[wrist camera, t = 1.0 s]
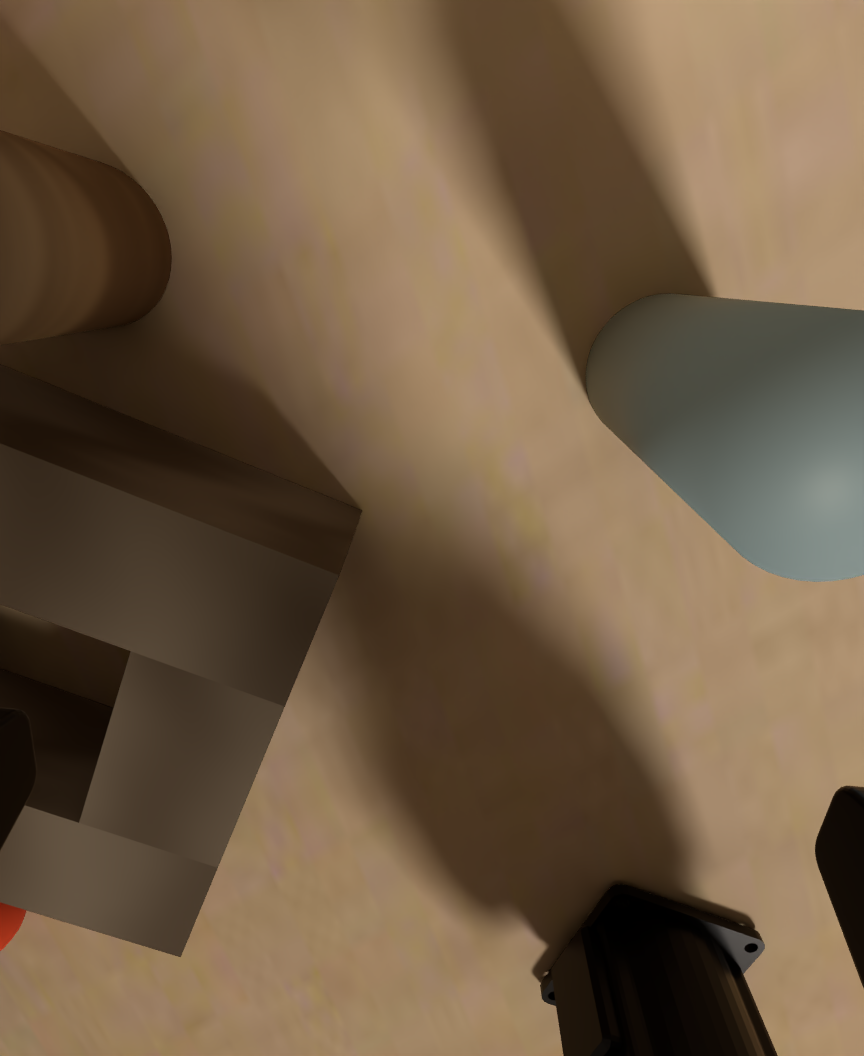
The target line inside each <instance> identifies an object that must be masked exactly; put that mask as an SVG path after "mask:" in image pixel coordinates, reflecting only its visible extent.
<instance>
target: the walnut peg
mask: <svg viewBox="0 0 864 1056" xmlns="http://www.w3.org/2000/svg"><path fill="white" fill-rule="evenodd" d="M171 259H172V258H171V245H170V240H169V235H168V232H167V229H166V225H165V223H164V221H163V218H162V216H161V214H160V212H159V211H158V209H157V207H156V205H155V204H154V202H153V201H152V200H151V198H150V197H149V195H148V194H147V193H146V192H145V191H144V190H143V189H142V188H141V186H139V185H138V184H137V183H136V182H135V181H134V180H133V179H131V178H130V177H129V176H127V175H126V174H124V173H123V172H121V171H119V170H117V169H115V168H114V167H112V166H109V165H106V164H104V163H101V162H98V161H95V160H91V159H88V158H85V157H82V156H79V155H76V154H73V153H69V152H66V151H63V150H60V149H57V148H54V147H51V146H48V145H44V144H41V143H38V142H35V141H32V140H29V139H26V138H23V137H19V136H16V135H13V134H10V133H7V132H4V131H1V130H0V345H5V344H11V343H17V342H24V341H30V340H36V339H42V338H48V337H55V336H61V335H67V334H73V333H79V332H86V331H92V330H98V329H104V328H110V327H117V326H122V325H126V324H129V323H132V322H134V321H136V320H138V319H140V318H142V317H143V316H145V315H146V314H147V313H148V312H150V311H151V310H152V309H153V308H154V307H155V305H156V304H157V303H158V301H159V300H160V299H161V297H162V295H163V293H164V291H165V289H166V286H167V283H168V281H169V276H170V271H171Z"/></svg>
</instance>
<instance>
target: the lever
mask: <svg viewBox="0 0 864 1056" xmlns="http://www.w3.org/2000/svg"><path fill="white" fill-rule="evenodd" d="M25 914H26V910H24V909H21V908H17V907H14V906H11V905H7V904H4V903H1V902H0V951H1V950H2V949H3V948H4V947H5V946H6V945H7V944H8V943H9V942H10V940H11V939H12V938H13V937H14V935H15V934H16V932H17V931H18V930H19V928H20V926H21V924H22V921H23V919H24V916H25Z"/></svg>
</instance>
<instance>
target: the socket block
mask: <svg viewBox="0 0 864 1056" xmlns="http://www.w3.org/2000/svg"><path fill="white" fill-rule="evenodd" d="M361 513H362V510H359V509H357V508H354V507H352V506H349V505H347V504H344V503H342V502H339V501H337V500H334V499H332V498H329V497H327V496H325V495H322V494H320V493H317V492H315V491H312V490H310V489H307V488H305V487H302V486H300V485H297V484H295V483H292V482H290V481H287V480H285V479H282V478H280V477H278V476H275V475H273V474H270V473H268V472H265V471H263V470H260V469H258V468H255V467H253V466H250V465H248V464H245V463H243V462H240V461H238V460H235V459H233V458H231V457H228V456H226V455H223V454H221V453H218V452H216V451H213V450H211V449H208V448H206V447H203V446H201V445H198V444H196V443H193V442H191V441H188V440H186V439H184V438H181V437H179V436H176V435H174V434H171V433H169V432H166V431H164V430H161V429H159V428H156V427H154V426H151V425H149V424H146V423H144V422H141V421H139V420H137V419H134V418H132V417H129V416H127V415H124V414H122V413H119V412H117V411H114V410H112V409H109V408H107V407H104V406H102V405H99V404H97V403H94V402H92V401H90V400H87V399H85V398H82V397H80V396H77V395H75V394H72V393H70V392H67V391H65V390H62V389H60V388H57V387H55V386H52V385H50V384H47V383H45V382H43V381H40V380H38V379H35V378H33V377H30V376H28V375H25V374H23V373H20V372H18V371H15V370H13V369H10V368H8V367H5V366H3V365H0V604H1V605H4V606H6V607H9V608H12V609H15V610H18V611H20V612H23V613H26V614H29V615H31V616H34V617H37V618H40V619H43V620H45V621H48V622H51V623H54V624H56V625H59V626H62V627H65V628H68V629H70V630H73V631H76V632H79V633H81V634H84V635H87V636H90V637H93V638H95V639H98V640H101V641H104V642H107V643H109V644H112V645H115V646H118V647H120V648H123V649H126V650H129V651H131V652H130V655H129V659H128V662H127V665H126V669H125V672H124V675H123V679H122V682H121V685H120V689H119V692H118V695H117V698H116V702H115V705H114V708H111V707H108V706H105V705H102V704H99V703H97V702H94V701H91V700H88V699H85V698H82V697H79V696H76V695H74V694H71V693H68V692H65V691H62V690H59V689H56V688H53V687H51V686H48V685H45V684H42V683H39V682H36V681H33V680H30V679H28V678H25V677H22V676H19V675H16V674H13V673H10V672H7V671H5V670H2V669H0V707H3V708H14V709H20V710H22V711H24V712H25V713H26V714H27V715H28V717H29V720H30V725H31V731H32V738H33V745H34V752H35V758H36V765H37V776H36V781H35V785H34V788H33V791H32V793H31V795H30V797H29V799H28V800H27V802H26V804H25V806H24V808H23V810H22V812H21V814H20V815H19V817H18V819H17V821H16V823H15V825H14V827H13V828H12V830H11V832H10V834H9V836H8V838H7V840H6V842H5V843H4V845H3V847H2V849H1V851H0V902H1V903H4V904H7V905H11V906H14V907H17V908H21V909H24V910H27V911H30V912H34V913H37V914H40V915H44V916H47V917H50V918H53V919H57V920H60V921H63V922H67V923H70V924H73V925H76V926H80V927H83V928H86V929H90V930H93V931H96V932H99V933H103V934H106V935H109V936H113V937H116V938H119V939H122V940H126V941H129V942H132V943H136V944H139V945H142V946H146V947H149V948H152V949H155V950H159V951H162V952H165V953H169V954H172V955H175V956H178V957H181V955H182V952H183V950H184V948H185V945H186V943H187V940H188V938H189V936H190V933H191V931H192V928H193V926H194V924H195V921H196V919H197V916H198V914H199V911H200V909H201V907H202V904H203V902H204V899H205V897H206V895H207V892H208V890H209V887H210V885H211V883H212V880H213V878H214V875H215V873H216V871H217V868H218V866H219V863H220V861H221V859H222V856H223V854H224V851H225V849H226V847H227V844H228V842H229V839H230V837H231V834H232V832H233V830H234V827H235V825H236V822H237V820H238V818H239V815H240V813H241V810H242V808H243V806H244V803H245V801H246V798H247V796H248V794H249V791H250V789H251V786H252V784H253V782H254V779H255V777H256V774H257V772H258V769H259V767H260V765H261V762H262V760H263V757H264V755H265V753H266V750H267V748H268V745H269V743H270V741H271V738H272V736H273V733H274V731H275V729H276V726H277V724H278V721H279V719H280V717H281V714H282V712H283V709H284V707H285V705H286V702H287V700H288V697H289V695H290V692H291V690H292V688H293V685H294V683H295V680H296V678H297V676H298V673H299V671H300V668H301V666H302V664H303V661H304V659H305V656H306V654H307V652H308V649H309V647H310V644H311V642H312V640H313V637H314V635H315V632H316V630H317V628H318V625H319V623H320V620H321V618H322V615H323V613H324V611H325V608H326V606H327V603H328V601H329V599H330V596H331V594H332V591H333V589H334V587H335V584H336V582H337V579H338V577H339V574H340V572H341V569H342V566H343V563H344V560H345V558H346V555H347V552H348V549H349V546H350V544H351V541H352V538H353V535H354V533H355V530H356V527H357V524H358V521H359V519H360V516H361Z"/></svg>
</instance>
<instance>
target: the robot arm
mask: <svg viewBox="0 0 864 1056" xmlns="http://www.w3.org/2000/svg"><path fill="white" fill-rule="evenodd" d="M36 776H37V765H36V758H35V752H34V745H33V738H32V731H31V725H30V720H29V717H28V715H27V714H26V713H25V712H24V711H22V710H20V709H14V708H3V707H0V851H1V849H2V847H3V845H4V843H5V842H6V840H7V838H8V836H9V834H10V832H11V830H12V828H13V827H14V825H15V823H16V821H17V819H18V817H19V815H20V814H21V812H22V810H23V808H24V806H25V804H26V802H27V800H28V799H29V797H30V795H31V793H32V791H33V788H34V785H35V781H36ZM815 855H816V861H817V864H818V868H819V870H820V873H821V876H822V878H823V881H824V884H825V886H826V889H827V892H828V894H829V897H830V900H831V902H832V905H833V908H834V910H835V913H836V916H837V918H838V921H839V924H840V926H841V929H842V932H843V934H844V937H845V940H846V942H847V945H848V948H849V951H850V953H851V956H852V959H853V961H854V964H855V967H856V969H857V972H858V975H859V977H860V980H861V983H862V985H863V988H864V787H857V786H844V787H841V788H840V789H838V790H837V791H836V792H835V794H834V796H833V798H832V801H831V803H830V806H829V808H828V811H827V813H826V816H825V818H824V821H823V823H822V826H821V829H820V831H819V834H818V836H817V839H816V845H815ZM764 949H765V945H764V942H763V940H762V938H761V936H760V934H759V933H758V932H757V931H756V930H754V929H751V928H748V927H745V926H742V925H740V924H737V923H734V922H731V921H728V920H725V919H722V918H719V917H717V916H714V915H711V914H708V913H705V912H702V911H699V910H696V909H694V908H691V907H688V906H685V905H682V904H679V903H676V902H673V901H671V900H668V899H665V898H662V897H659V896H656V895H653V894H650V893H648V892H645V891H642V890H639V889H636V888H633V887H630V886H627V885H623V884H619V885H615V886H612V887H611V888H610V889H609V890H608V891H607V892H606V893H605V895H604V896H603V898H602V899H601V900H600V902H599V903H598V905H597V906H596V907H595V909H594V910H593V911H592V913H591V914H590V916H589V917H588V918H587V920H586V921H585V923H584V924H583V925H582V927H581V928H580V929H579V931H578V932H577V933H576V935H575V936H574V937H573V939H572V940H571V942H570V943H569V944H568V946H567V947H566V949H565V950H564V951H563V953H562V954H561V955H560V957H559V958H558V960H557V961H556V962H555V964H554V965H553V967H552V968H551V970H550V971H549V972H548V974H547V975H546V977H545V978H544V979H543V981H542V982H541V985H540V987H541V995H542V999H543V1000H544V1002H546V1003H548V1004H551V1005H554V1006H556V1008H557V1014H558V1021H559V1028H560V1035H561V1041H562V1048H563V1055H564V1056H777V1053H776V1051H775V1048H774V1046H773V1044H772V1041H771V1039H770V1037H769V1034H768V1032H767V1030H766V1027H765V1025H764V1022H763V1020H762V1018H761V1015H760V1013H759V1011H758V1008H757V1006H756V1003H755V1001H754V999H753V996H752V994H751V992H750V989H749V987H748V985H747V982H746V980H745V977H744V975H743V974H744V973H745V971H746V970H747V969H748V968H749V967H750V966H751V965H752V963H753V962H754V961H755V960H756V959H757V958H758V957H759V955H760V954H761V953H762V952H763V950H764Z"/></svg>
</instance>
